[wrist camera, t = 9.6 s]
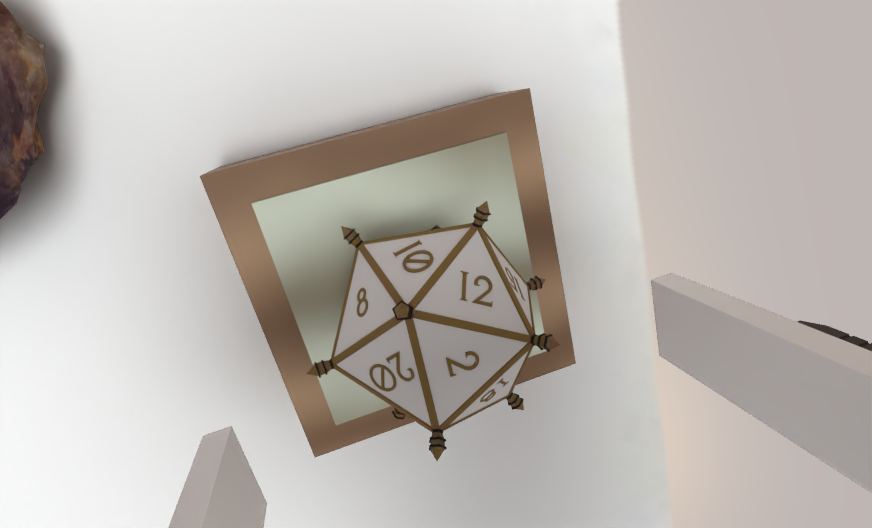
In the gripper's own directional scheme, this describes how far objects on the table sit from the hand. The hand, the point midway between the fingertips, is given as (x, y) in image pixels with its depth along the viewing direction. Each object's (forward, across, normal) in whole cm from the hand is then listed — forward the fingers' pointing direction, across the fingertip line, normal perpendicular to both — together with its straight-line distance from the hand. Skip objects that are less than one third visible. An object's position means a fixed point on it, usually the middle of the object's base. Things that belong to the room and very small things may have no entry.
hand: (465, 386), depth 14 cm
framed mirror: (+12, 0, -1) cm, 12 cm away
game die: (+8, 0, 0) cm, 8 cm away
